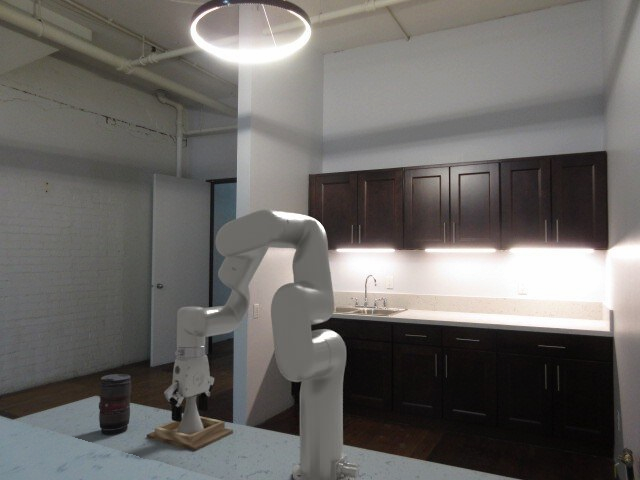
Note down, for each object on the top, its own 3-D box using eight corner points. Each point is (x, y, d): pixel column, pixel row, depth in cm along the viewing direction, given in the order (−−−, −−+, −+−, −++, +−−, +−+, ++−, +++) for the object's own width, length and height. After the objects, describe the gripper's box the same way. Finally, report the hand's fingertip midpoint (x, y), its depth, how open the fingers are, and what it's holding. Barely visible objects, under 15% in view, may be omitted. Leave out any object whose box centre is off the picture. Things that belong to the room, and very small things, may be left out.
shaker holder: (232, 433, 126) (232, 422, 126) (195, 451, 114) (195, 439, 114) (185, 422, 135) (186, 412, 135) (146, 437, 123) (146, 427, 123)
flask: (176, 438, 120) (176, 400, 121) (177, 429, 127) (177, 392, 128) (204, 435, 122) (205, 397, 123) (204, 426, 129) (204, 390, 130)
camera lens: (118, 437, 123) (119, 380, 124) (92, 435, 125) (93, 379, 126) (136, 426, 131) (137, 373, 132) (111, 425, 133) (112, 372, 134)
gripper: (176, 359, 117) (175, 427, 116) (223, 348, 131) (222, 409, 131) (156, 356, 120) (155, 422, 119) (203, 346, 135) (203, 405, 134)
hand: (190, 415), depth 125 cm, fingers open, 9 cm apart
